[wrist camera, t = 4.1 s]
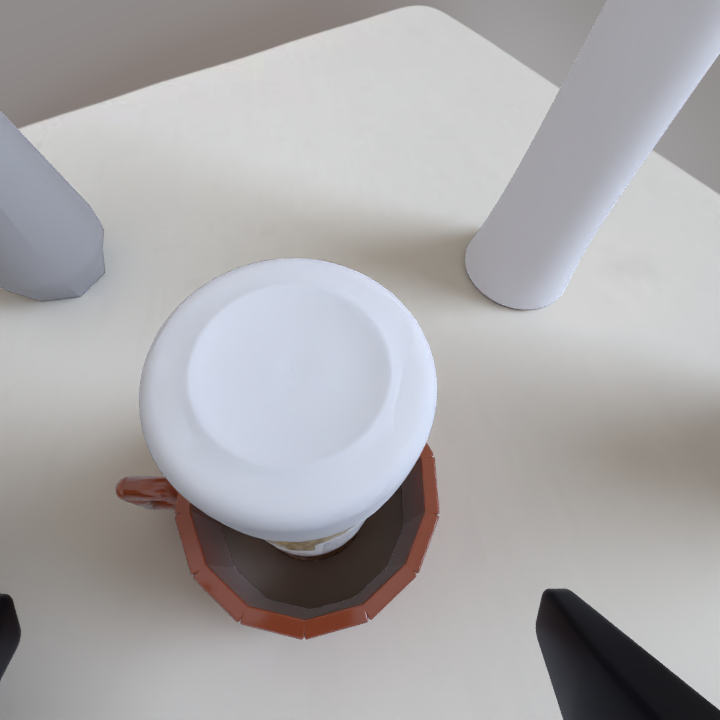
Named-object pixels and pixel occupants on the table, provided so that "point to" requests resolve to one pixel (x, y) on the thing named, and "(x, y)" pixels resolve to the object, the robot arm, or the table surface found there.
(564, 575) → the table surface
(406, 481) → the cup
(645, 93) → the cosmetic bottle
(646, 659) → the robot arm
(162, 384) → the sprinkles bottle
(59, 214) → the salt shaker
